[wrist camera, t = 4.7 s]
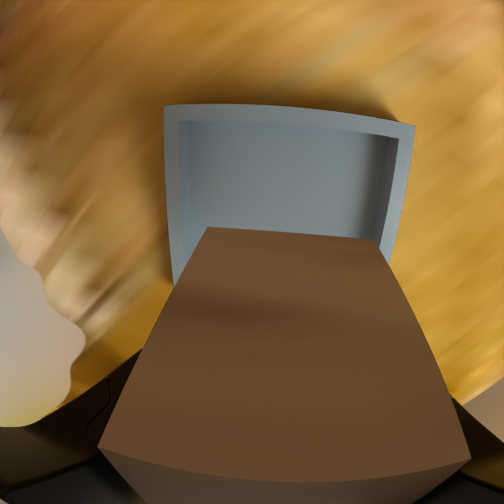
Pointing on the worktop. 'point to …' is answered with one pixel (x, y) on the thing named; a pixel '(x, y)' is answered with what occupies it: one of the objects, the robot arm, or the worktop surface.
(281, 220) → the tray
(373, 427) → the walnut block
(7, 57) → the worktop surface
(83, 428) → the robot arm
